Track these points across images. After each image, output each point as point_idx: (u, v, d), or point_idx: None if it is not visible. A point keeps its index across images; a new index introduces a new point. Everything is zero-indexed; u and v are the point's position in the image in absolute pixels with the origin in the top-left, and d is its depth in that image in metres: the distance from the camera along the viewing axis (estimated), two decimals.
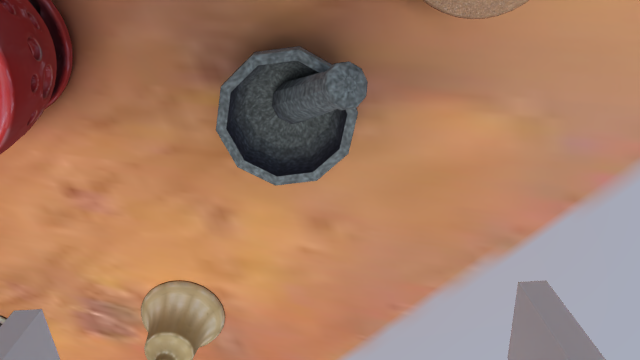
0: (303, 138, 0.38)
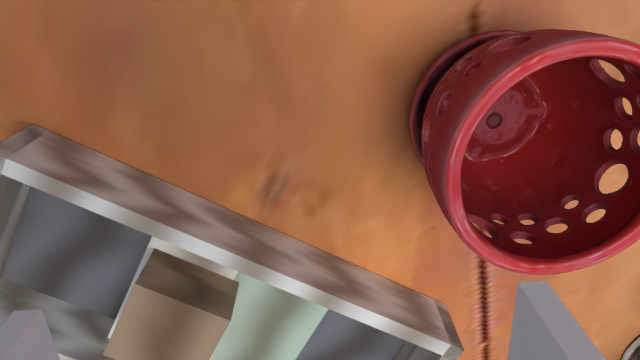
0: None
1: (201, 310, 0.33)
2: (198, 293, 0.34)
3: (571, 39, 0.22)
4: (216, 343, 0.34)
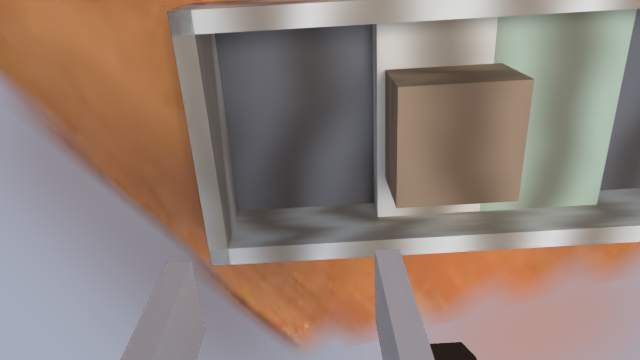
0: None
1: (492, 83, 0.25)
2: (471, 76, 0.26)
3: None
4: (526, 122, 0.25)
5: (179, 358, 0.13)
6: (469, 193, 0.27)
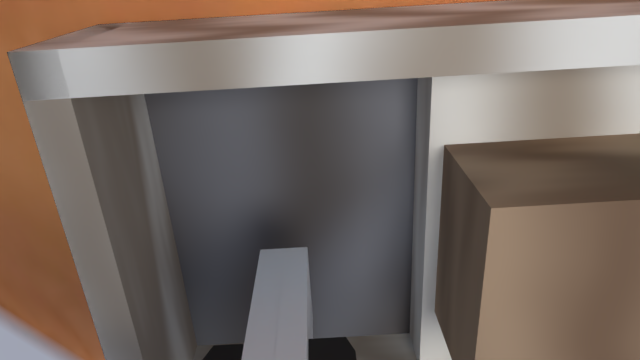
0: None
1: None
2: (625, 174, 0.13)
3: None
4: None
5: None
6: None
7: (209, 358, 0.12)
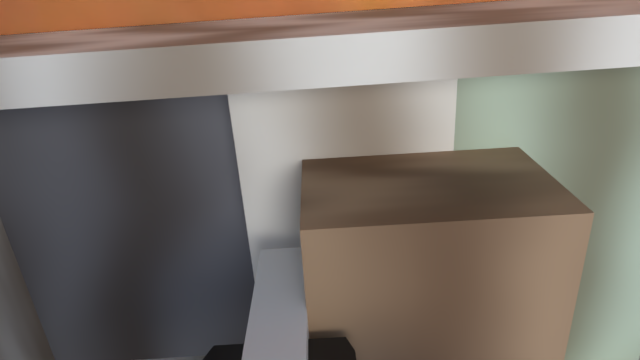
0: None
1: (503, 221, 0.11)
2: (459, 193, 0.13)
3: None
4: (573, 292, 0.12)
5: None
6: None
7: (209, 358, 0.12)
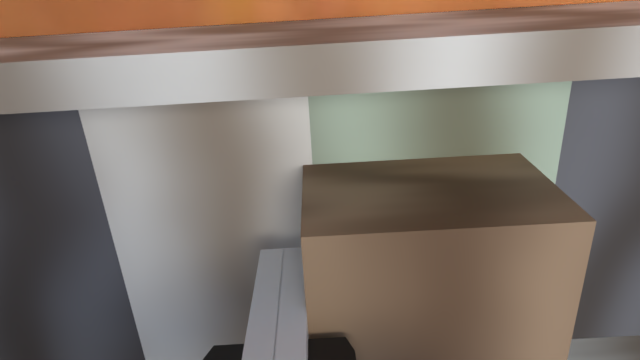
0: None
1: (504, 228, 0.11)
2: (460, 200, 0.13)
3: None
4: (575, 300, 0.12)
5: None
6: None
7: (209, 358, 0.12)
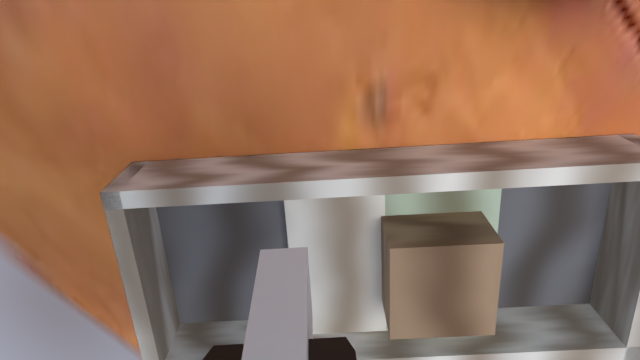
0: None
1: (468, 245, 0.29)
2: (452, 233, 0.31)
3: None
4: (499, 275, 0.30)
5: None
6: (452, 328, 0.32)
7: (209, 358, 0.12)
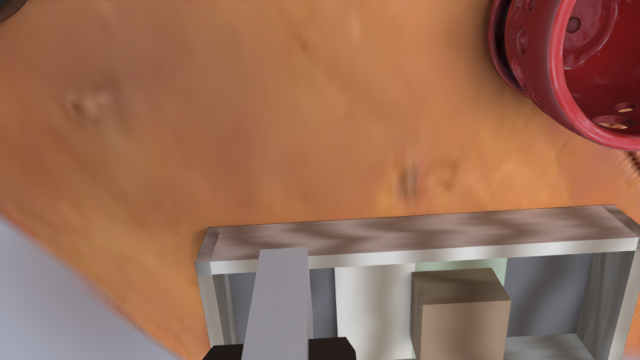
0: None
1: (484, 302, 0.38)
2: (470, 290, 0.39)
3: None
4: (506, 323, 0.39)
5: None
6: None
7: (209, 358, 0.12)
